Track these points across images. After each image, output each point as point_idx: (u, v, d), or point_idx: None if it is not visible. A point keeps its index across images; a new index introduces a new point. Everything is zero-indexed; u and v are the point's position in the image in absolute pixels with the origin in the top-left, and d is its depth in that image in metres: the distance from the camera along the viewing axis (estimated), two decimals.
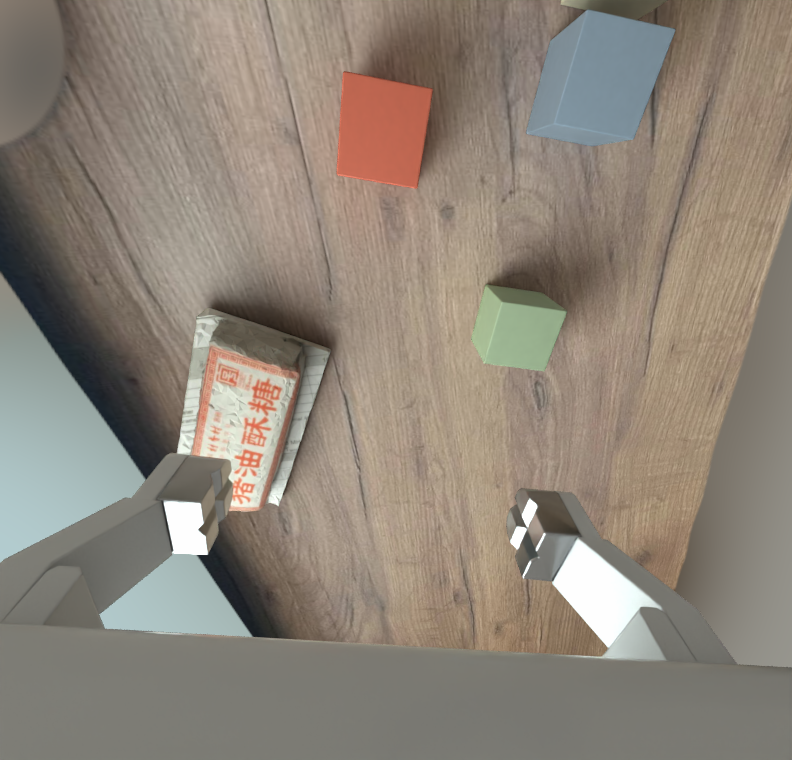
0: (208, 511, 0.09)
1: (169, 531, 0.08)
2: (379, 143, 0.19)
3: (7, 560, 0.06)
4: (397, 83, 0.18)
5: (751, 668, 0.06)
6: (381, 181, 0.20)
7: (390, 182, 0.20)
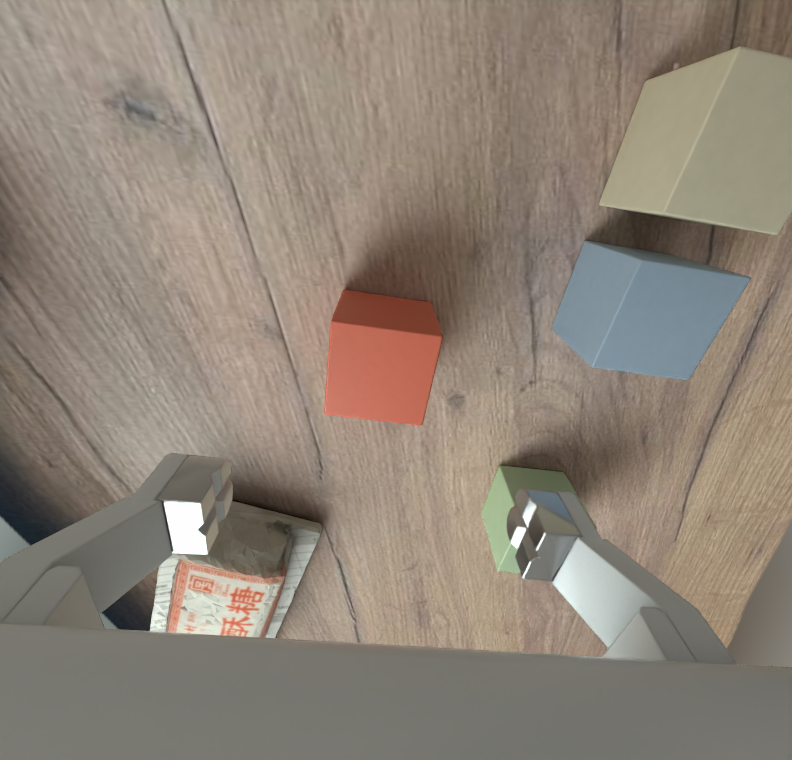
0: (208, 511, 0.09)
1: (169, 531, 0.08)
2: (375, 386, 0.16)
3: (8, 559, 0.06)
4: (398, 332, 0.15)
5: (751, 668, 0.06)
6: (378, 420, 0.17)
7: (389, 421, 0.17)
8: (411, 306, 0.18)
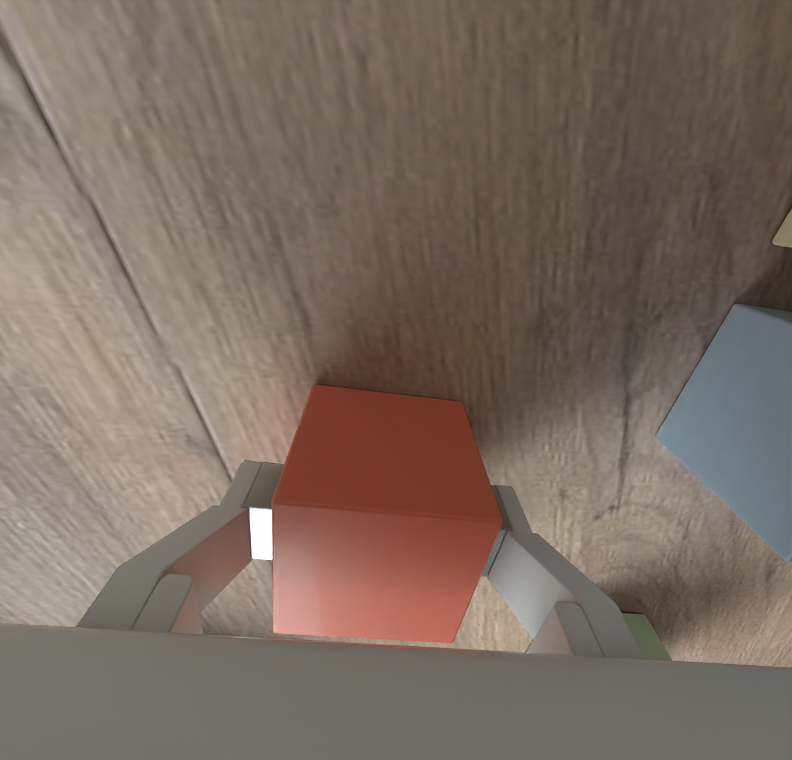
0: None
1: (252, 538, 0.09)
2: (367, 596, 0.08)
3: (121, 567, 0.07)
4: (413, 517, 0.07)
5: (751, 668, 0.06)
6: (374, 638, 0.09)
7: (394, 639, 0.09)
8: (430, 418, 0.10)
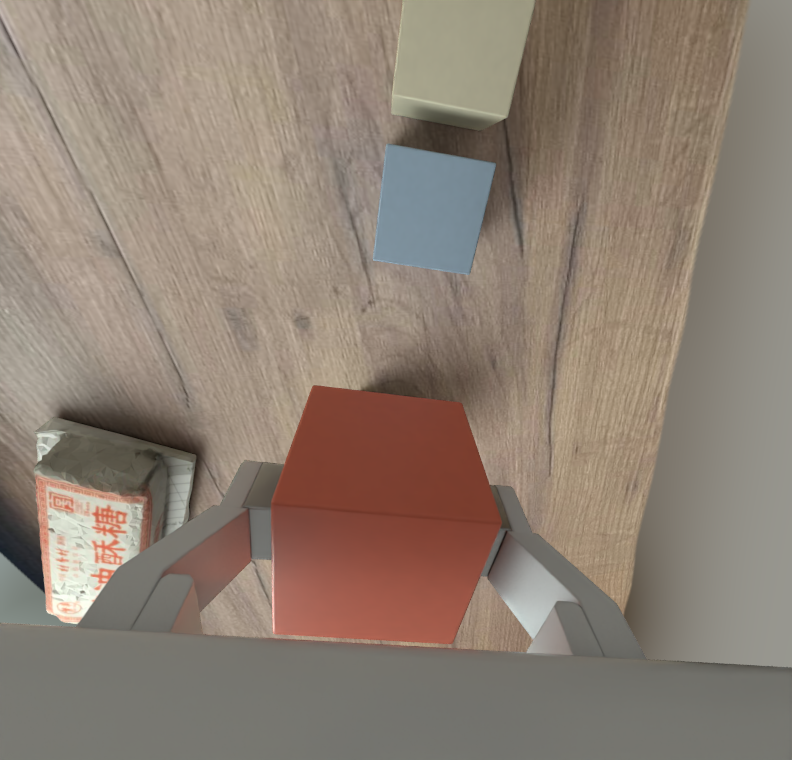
0: None
1: (252, 538, 0.09)
2: (367, 597, 0.08)
3: (122, 567, 0.07)
4: (412, 519, 0.07)
5: (751, 668, 0.06)
6: (374, 639, 0.09)
7: (394, 640, 0.09)
8: (430, 419, 0.10)
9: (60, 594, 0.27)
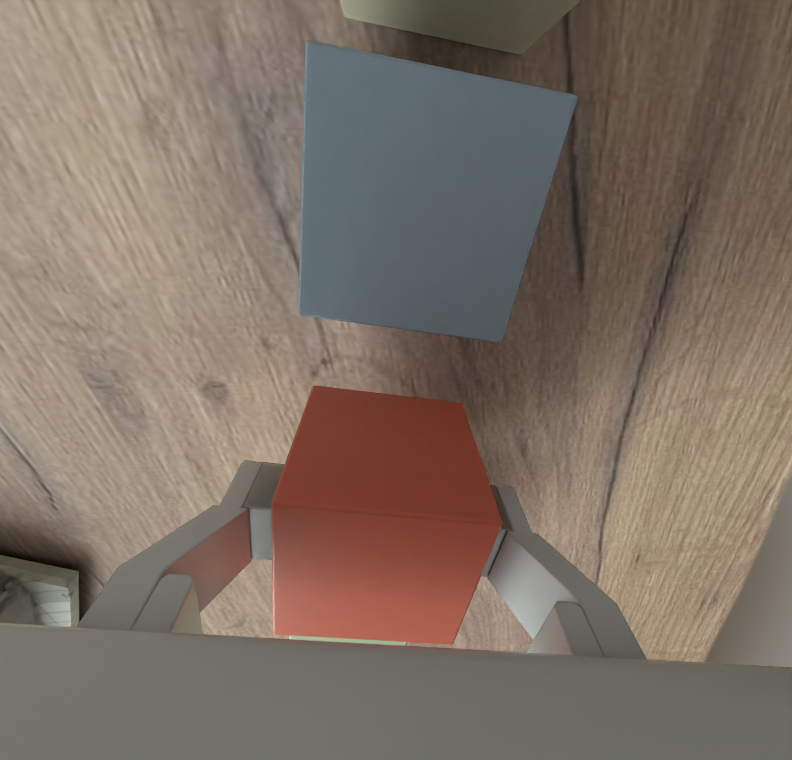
0: None
1: (252, 538, 0.09)
2: (367, 598, 0.08)
3: (122, 567, 0.07)
4: (413, 519, 0.07)
5: (751, 668, 0.06)
6: None
7: None
8: (430, 420, 0.10)
9: None
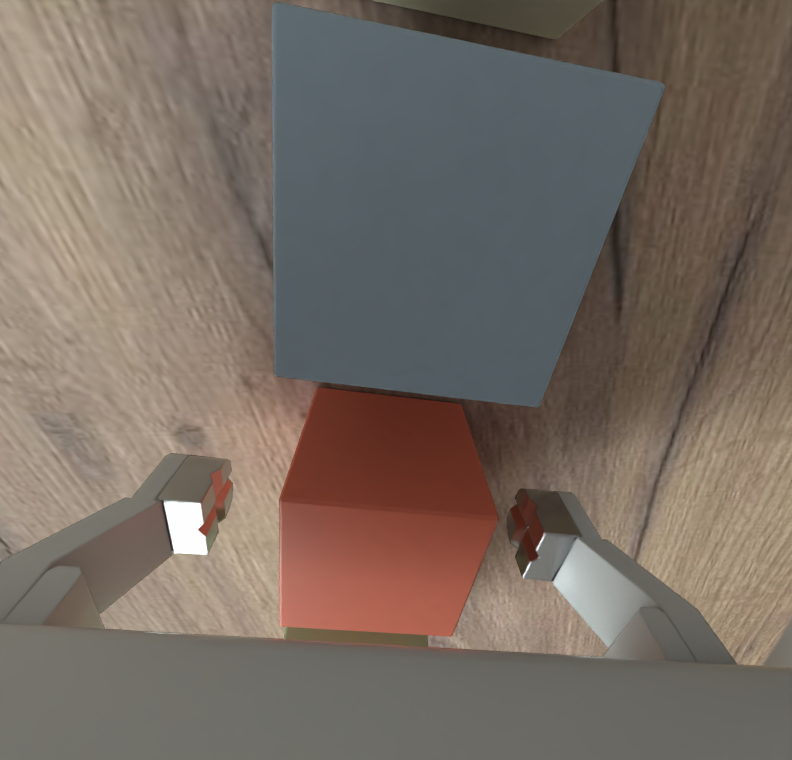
0: (208, 511, 0.09)
1: (169, 531, 0.08)
2: (370, 590, 0.09)
3: (8, 559, 0.06)
4: (414, 514, 0.07)
5: (751, 668, 0.06)
6: (376, 631, 0.09)
7: None
8: (431, 420, 0.10)
9: None
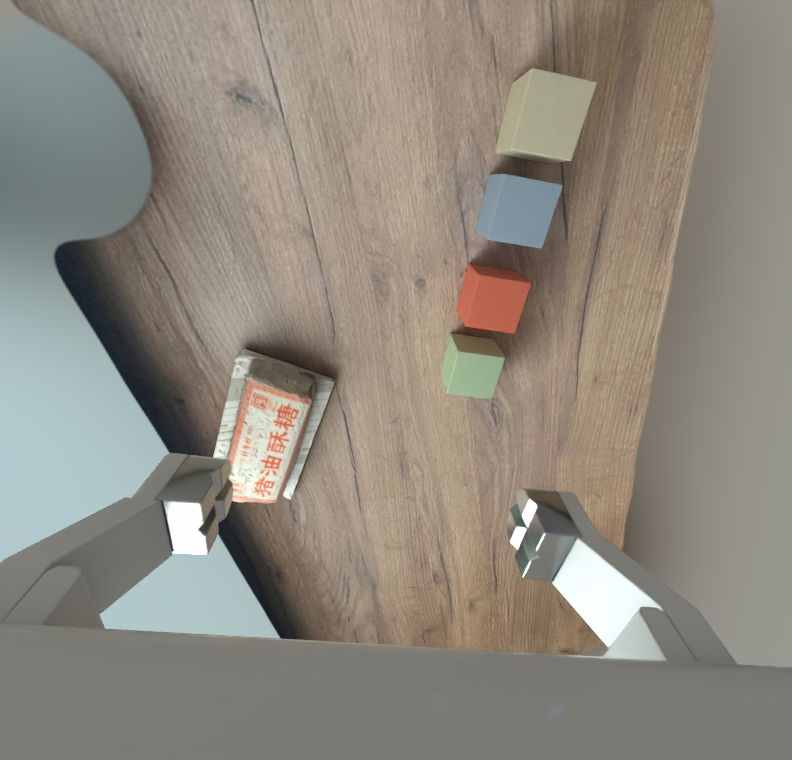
0: (208, 511, 0.09)
1: (169, 531, 0.08)
2: (494, 310, 0.31)
3: (8, 559, 0.06)
4: (510, 280, 0.30)
5: (751, 668, 0.06)
6: (493, 330, 0.32)
7: (498, 330, 0.32)
8: (507, 271, 0.33)
9: (236, 476, 0.39)
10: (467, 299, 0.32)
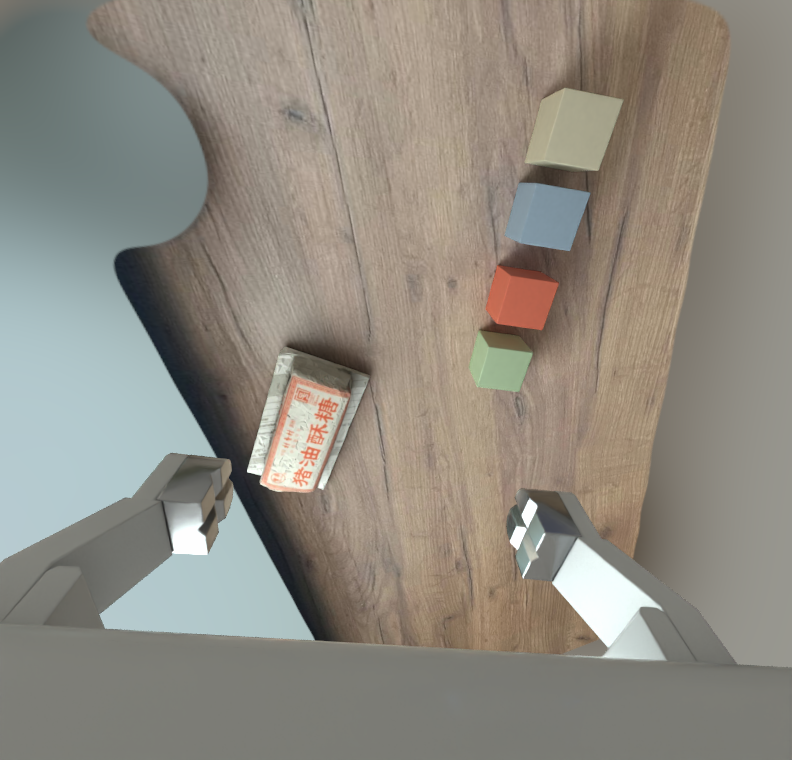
0: (208, 511, 0.09)
1: (169, 531, 0.08)
2: (524, 308, 0.34)
3: (7, 560, 0.06)
4: (540, 280, 0.32)
5: (751, 668, 0.06)
6: (522, 326, 0.34)
7: (527, 327, 0.34)
8: (534, 272, 0.35)
9: (277, 466, 0.42)
10: (497, 298, 0.35)
